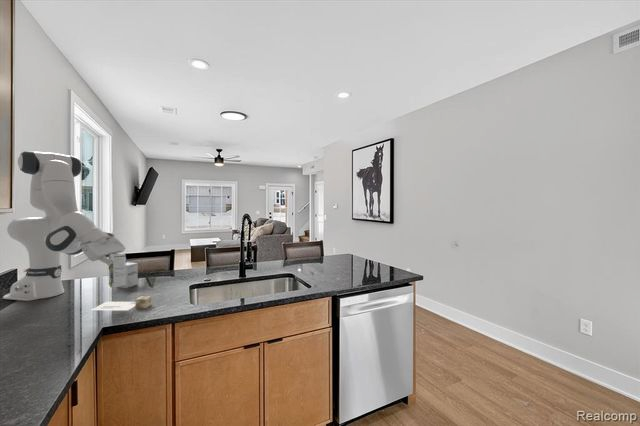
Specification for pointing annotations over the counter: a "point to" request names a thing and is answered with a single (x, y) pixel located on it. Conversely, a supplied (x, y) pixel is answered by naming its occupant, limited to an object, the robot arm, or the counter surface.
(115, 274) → the syrup box
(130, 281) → the supplement box
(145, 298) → the beech block
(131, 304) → the envelope
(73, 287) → the counter surface
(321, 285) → the counter surface
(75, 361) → the counter surface
